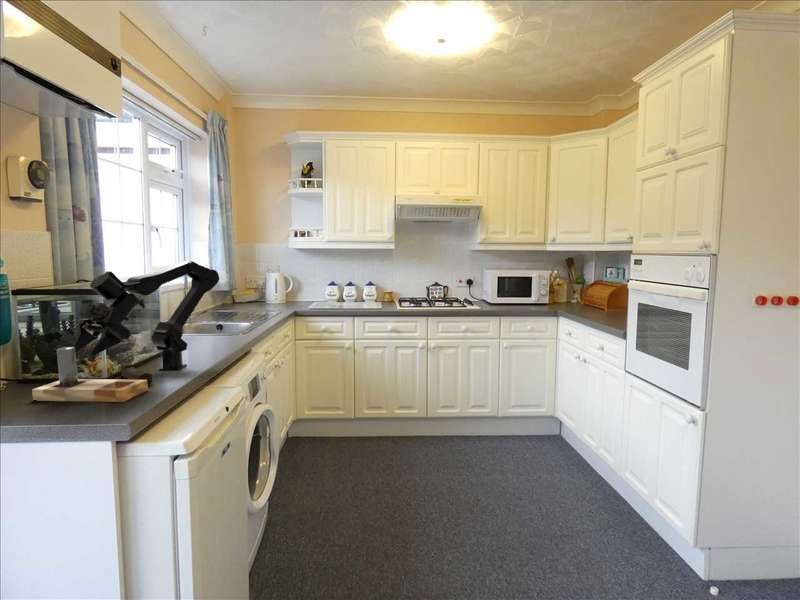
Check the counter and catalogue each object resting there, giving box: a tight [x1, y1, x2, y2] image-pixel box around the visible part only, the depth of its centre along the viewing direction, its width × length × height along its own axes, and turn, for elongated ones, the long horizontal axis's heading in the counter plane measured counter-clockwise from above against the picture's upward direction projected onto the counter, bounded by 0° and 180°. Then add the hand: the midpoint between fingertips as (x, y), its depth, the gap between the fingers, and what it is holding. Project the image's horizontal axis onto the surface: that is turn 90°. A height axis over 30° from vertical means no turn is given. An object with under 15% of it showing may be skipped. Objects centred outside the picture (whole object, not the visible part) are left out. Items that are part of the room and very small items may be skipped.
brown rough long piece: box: [120, 361, 153, 386], centre depth 134 cm, size 19×4×5 cm, turn 48°
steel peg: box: [56, 346, 79, 388], centre depth 119 cm, size 4×4×13 cm
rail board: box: [31, 378, 149, 403], centre depth 119 cm, size 10×25×3 cm, turn 87°
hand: (81, 353), depth 122 cm, fingers open, 9 cm apart
